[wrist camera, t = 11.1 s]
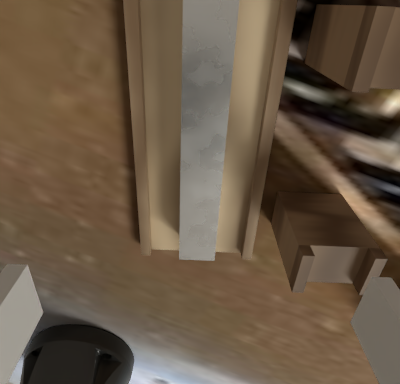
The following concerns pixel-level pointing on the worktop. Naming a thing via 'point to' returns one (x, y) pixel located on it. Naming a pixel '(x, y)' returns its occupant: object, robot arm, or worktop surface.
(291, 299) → the worktop surface
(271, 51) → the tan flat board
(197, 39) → the rail
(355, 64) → the cradle posts
